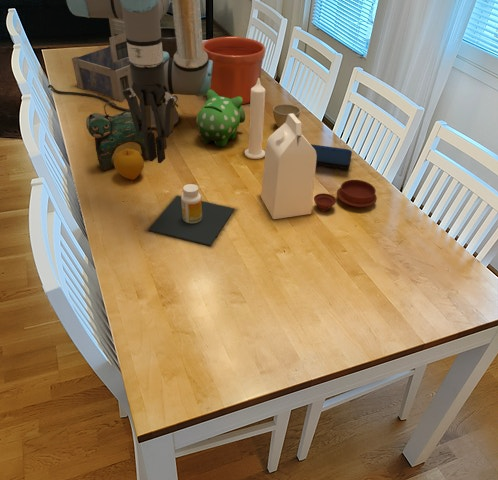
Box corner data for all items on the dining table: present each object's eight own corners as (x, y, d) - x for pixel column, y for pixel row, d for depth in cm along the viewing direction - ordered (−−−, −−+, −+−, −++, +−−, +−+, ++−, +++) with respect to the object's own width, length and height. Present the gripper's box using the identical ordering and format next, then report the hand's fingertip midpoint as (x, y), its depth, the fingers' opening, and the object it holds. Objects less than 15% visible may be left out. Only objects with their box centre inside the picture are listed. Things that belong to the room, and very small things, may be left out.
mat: (148, 231, 122) (147, 229, 122) (177, 196, 135) (177, 195, 134) (210, 246, 118) (210, 244, 118) (234, 209, 131) (234, 208, 131)
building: (120, 101, 183) (110, 38, 167) (78, 87, 192) (64, 26, 176) (158, 84, 198) (152, 24, 182) (117, 72, 207) (108, 14, 191)
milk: (311, 213, 131) (324, 126, 113) (273, 219, 128) (281, 130, 110) (296, 191, 139) (307, 107, 121) (260, 196, 137) (265, 110, 119)
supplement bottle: (205, 216, 127) (204, 185, 121) (196, 226, 124) (194, 195, 117) (189, 210, 129) (187, 180, 122) (179, 220, 125) (176, 189, 119)
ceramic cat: (98, 173, 142) (85, 110, 129) (92, 164, 146) (78, 102, 133) (157, 159, 151) (151, 98, 137) (150, 151, 154) (142, 90, 141)
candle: (267, 151, 157) (273, 76, 140) (261, 160, 152) (266, 83, 135) (248, 147, 159) (251, 72, 141) (241, 156, 154) (243, 80, 137)
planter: (159, 62, 218) (156, 25, 207) (193, 67, 215) (191, 29, 204) (143, 74, 206) (139, 35, 195) (179, 79, 203) (176, 40, 192)
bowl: (296, 135, 167) (298, 116, 162) (269, 132, 168) (271, 112, 163) (299, 124, 174) (302, 105, 169) (274, 120, 176) (275, 102, 171)
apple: (120, 168, 145) (115, 142, 139) (148, 170, 145) (145, 143, 139) (113, 183, 139) (108, 156, 132) (142, 185, 139) (138, 158, 132)
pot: (274, 98, 191) (278, 49, 178) (225, 111, 180) (225, 60, 167) (239, 80, 205) (240, 33, 192) (191, 91, 194) (189, 42, 181)
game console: (350, 158, 156) (356, 132, 150) (347, 177, 147) (352, 150, 140) (305, 151, 159) (309, 125, 152) (299, 169, 149) (302, 143, 143)
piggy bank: (249, 134, 166) (251, 92, 156) (224, 154, 155) (224, 110, 144) (216, 125, 171) (215, 83, 161) (189, 143, 159) (187, 100, 149)
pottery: (382, 208, 134) (386, 195, 131) (323, 221, 128) (326, 208, 125) (361, 188, 142) (364, 175, 139) (304, 199, 136) (306, 186, 133)
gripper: (108, 62, 100) (124, 161, 116) (169, 72, 97) (177, 172, 113) (125, 52, 105) (138, 148, 121) (184, 62, 102) (189, 158, 118)
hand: (157, 159), depth 117 cm, fingers closed
